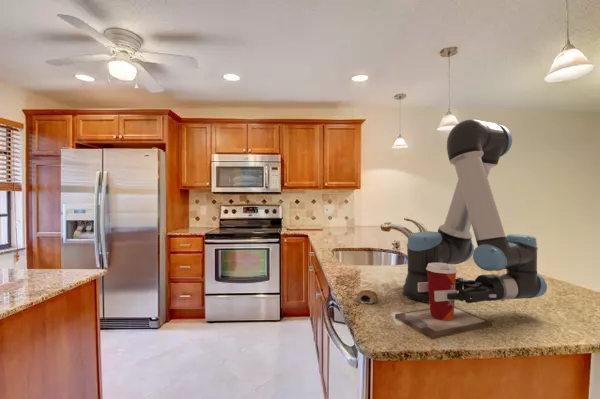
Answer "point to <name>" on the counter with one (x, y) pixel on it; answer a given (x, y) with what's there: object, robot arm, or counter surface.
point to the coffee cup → (441, 279)
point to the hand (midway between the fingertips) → (426, 291)
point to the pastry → (367, 297)
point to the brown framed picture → (442, 322)
